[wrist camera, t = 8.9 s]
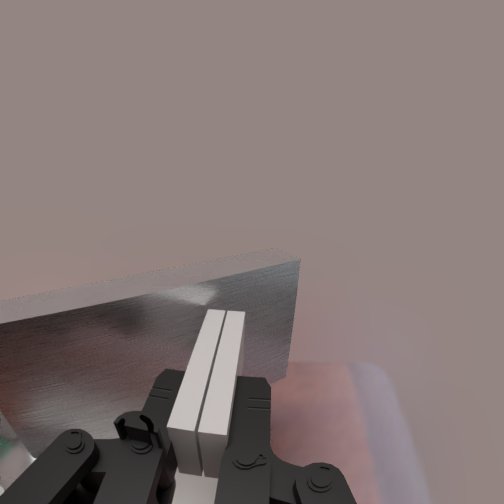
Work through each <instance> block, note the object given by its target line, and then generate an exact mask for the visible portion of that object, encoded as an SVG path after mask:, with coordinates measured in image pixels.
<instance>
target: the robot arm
mask: <svg viewBox="0 0 504 504" xmlns="http://www.w3.org/2000/svg"><path fill="white" fill-rule="evenodd" d="M244 333H245V312H240V311H227V315H226V319H225V310H213V309H208V311H207V314H206V316H205V319H204V322H203V325H202V327H201V330H200V333H199V336H198V338H197V341H196V344H195V347H194V350H193V352H192V355H191V358H190V361H189V364H188V366H187V369H186V371H180V370H173V369H165V370H164V371H163V372H162V373H160V374H159V375H158V376H157V377H156V380H155V382H154V384H153V386H152V389H151V391H150V393H149V397H147V400H146V402H145V404H144V406H143V409H142V411H129V412H125V413H123V414H121V415H120V416H118V417H117V418H116V420H115V421H114V422H113V423H114V426H115V428H116V430H117V433H118V435H119V437H120V438H116V439H93V437H92V436H91V435H90V434H89V433H88V432H87V431H85V430H82V429H69V430H66V431H64V432H63V433H61V434H60V435H59V436H58V437H57V438H56V439H55V440H54V441H53V442H52V443H51V444H50V445H49V446H48V447H47V448H46V449H45V450H44V451H43V452H42V453H41V454H40V455H39V456H38V457H37V458H36V459H35V461H34V462H33V463H32V464H31V465H30V466H29V467H28V468H27V469H26V470H25V471H24V472H23V473H22V474H21V475H20V476H19V477H18V478H17V479H16V480H15V481H14V482H13V483H12V484H11V485H10V486H9V487H8V488H7V489H6V490H5V492H4V493H3V494H2V495H1V496H0V504H172V501H173V496H174V492H175V488H176V480H175V473H176V470H177V467H178V470H179V473H183V474H189V475H196V476H202V473H203V469H204V475H205V477H210V478H218V483H217V489H216V495H215V501H214V504H357V503H356V501H355V499H354V497H353V495H352V493H351V490H350V488H349V486H348V484H347V482H346V480H345V477H344V475H343V474H342V473H341V471H340V470H339V469H338V468H336V467H335V466H333V465H331V464H327V463H323V462H322V463H312V464H310V465H307V466H305V467H300V466H296V465H293V464H289V463H287V462H284V461H282V460H281V459H279V458H278V457H277V456H276V455H275V454H274V453H273V451H272V449H271V447H270V413H271V410H270V409H271V387H270V385H269V383H268V382H267V380H266V378H264V377H247V376H242V369H243V361H244Z"/></svg>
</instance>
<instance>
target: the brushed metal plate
mask: <svg viewBox="0 0 504 504" xmlns="http://www.w3.org/2000/svg"><path fill="white" fill-rule="evenodd" d="M300 260H301V259H299V258H297V257H295V256H293V255H291V254H289V253H286V252H284V251H282V250H280V249H278V248H272V249H267V250H262V251H257V252H252V253H247V254H241V255H236V256H231V257H226V258H220V259H216V260H210V261H205V262H199V263H195V264H189V265H184V266H179V267H174V268H168V269H164V270H159V271H153V272H148V273H143V274H138V275H132V276H127V277H122V278H117V279H111V280H106V281H101V282H96V283H91V284H86V285H80V286H75V287H70V288H65V289H60V290H54V291H49V292H44V293H39V294H34V295H29V296H23V297H18V298H13V299H8V300H3V301H0V410H1V412H2V414H0V485H1V486H2V487H3V488H4V489H5V490H6V489H7V488H8V487H9V486H10V485H11V484H12V483H13V482H14V481H15V480H16V479H17V478H18V477H19V476H20V475H21V474H22V473H23V472H24V471H25V470H26V469H27V468H28V467H29V466H30V465H31V464H32V463H33V462H34V461H35V459H36V458H37V457H38V456H39V455H40V454H41V453H42V452H43V451H44V450H45V449H46V448H47V447H48V446H49V445H50V444H51V443H52V442H53V441H54V440H55V439H56V438H57V437H58V436H59V435H60V434H61V433H63V432H64V431H66V430H69V429H82V430H85V431H87V432H88V433H89V434H90V435H91V436H92V437H93V439H116V438H120V437H119V435H118V433H117V430H116V428H115V426H114V423H113V422H114V421H115V420H116V418H117V417H118V416H120V415H121V414H123V413H125V412H129V411H142V409H143V406H144V404H145V402H146V400H147V397H149V393H150V391H151V389H152V386H153V384H154V382H155V380H156V377H157V376H158V375H159V374H160V373H162V372H163V371H164V370H165V369H173V370H180V371H186V369H187V366H188V364H189V361H190V358H191V355H192V352H193V350H194V347H195V344H196V341H197V338H198V336H199V333H200V330H201V327H202V325H203V322H204V319H205V316H206V314H207V311H208V309H213V310H225V319H226V315H227V311H240V312H245V333H244V361H243V369H242V376H247V377H264V378H266V380H267V382H268V383H269V385H270V384H272V383H274V382H276V381H279V380H281V379H283V378H285V377H286V373H287V366H288V359H289V351H290V344H291V337H292V329H293V321H294V313H295V305H296V296H297V288H298V279H299V269H300Z"/></svg>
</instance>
